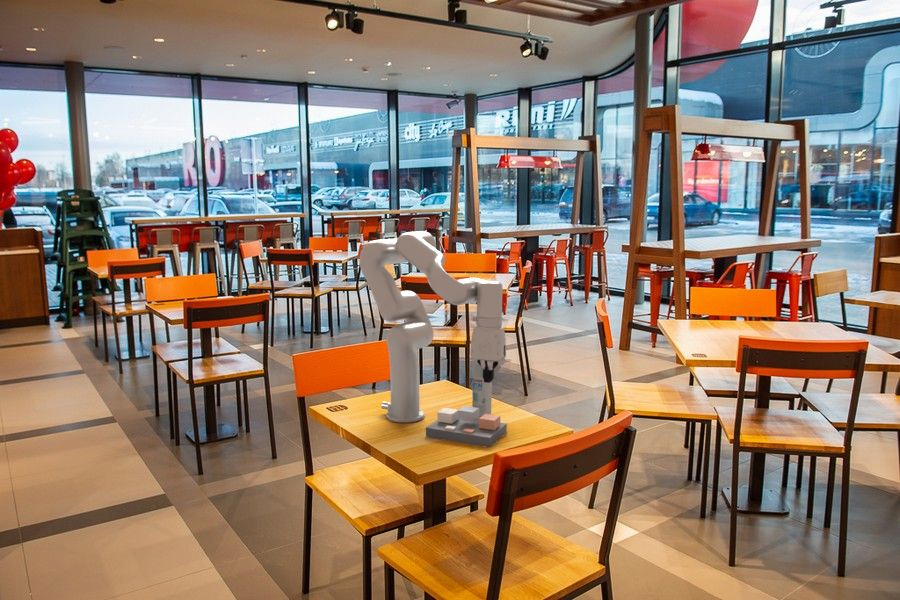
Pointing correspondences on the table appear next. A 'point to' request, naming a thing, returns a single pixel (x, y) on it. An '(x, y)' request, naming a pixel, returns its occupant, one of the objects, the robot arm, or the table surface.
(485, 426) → the terracotta key
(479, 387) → the spray can
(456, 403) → the table surface
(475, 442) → the key pad
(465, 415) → the grey key
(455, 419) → the cream key
